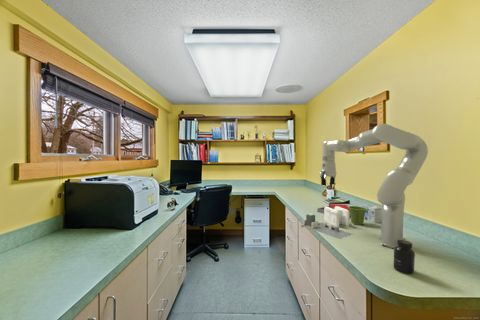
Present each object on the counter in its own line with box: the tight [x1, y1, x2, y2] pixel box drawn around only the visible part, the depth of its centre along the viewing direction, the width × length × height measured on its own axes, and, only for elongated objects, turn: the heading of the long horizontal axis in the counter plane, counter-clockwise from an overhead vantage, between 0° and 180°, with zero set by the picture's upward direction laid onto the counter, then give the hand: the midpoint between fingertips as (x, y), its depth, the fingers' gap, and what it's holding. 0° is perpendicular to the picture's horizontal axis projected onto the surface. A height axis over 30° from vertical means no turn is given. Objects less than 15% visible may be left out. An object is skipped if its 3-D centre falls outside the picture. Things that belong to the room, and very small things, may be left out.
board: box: [300, 218, 353, 240], centre depth 131 cm, size 27×14×5 cm, turn 33°
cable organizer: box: [323, 206, 350, 228], centre depth 144 cm, size 15×11×12 cm
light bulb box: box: [362, 204, 382, 224], centre depth 156 cm, size 11×7×11 cm, turn 17°
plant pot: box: [348, 205, 367, 226], centre depth 148 cm, size 12×12×11 cm
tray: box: [317, 205, 351, 219], centre depth 176 cm, size 24×28×3 cm
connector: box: [305, 212, 316, 227], centre depth 137 cm, size 4×4×8 cm
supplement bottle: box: [392, 239, 416, 275], centre depth 86 cm, size 7×7×12 cm
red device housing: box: [328, 203, 350, 213], centre depth 176 cm, size 18×14×5 cm
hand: (328, 184), depth 140 cm, fingers open, 9 cm apart
